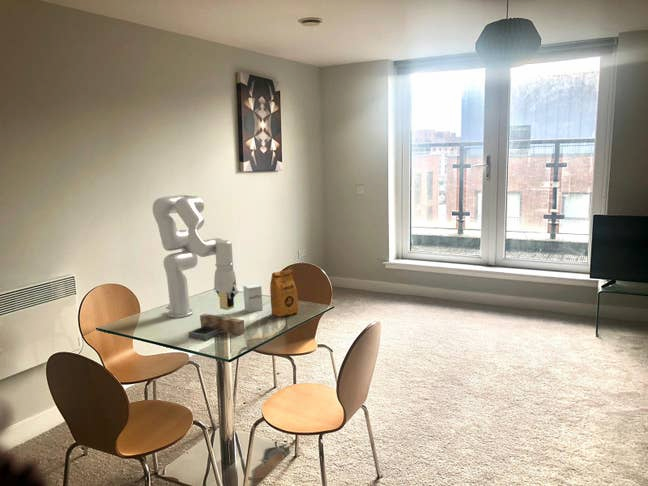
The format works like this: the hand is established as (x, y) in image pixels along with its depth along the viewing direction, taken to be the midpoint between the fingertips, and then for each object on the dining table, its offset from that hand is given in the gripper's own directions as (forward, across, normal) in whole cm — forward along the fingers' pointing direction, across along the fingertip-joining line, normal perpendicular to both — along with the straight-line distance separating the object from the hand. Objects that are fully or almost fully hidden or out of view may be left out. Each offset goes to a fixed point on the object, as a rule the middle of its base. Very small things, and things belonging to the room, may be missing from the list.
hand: (226, 305), depth 247 cm
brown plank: (+10, +3, -7) cm, 12 cm away
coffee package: (+10, +15, +25) cm, 31 cm away
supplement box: (+10, -5, +25) cm, 27 cm away
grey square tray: (+10, +1, -16) cm, 19 cm away
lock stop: (+1, 0, 0) cm, 1 cm away
